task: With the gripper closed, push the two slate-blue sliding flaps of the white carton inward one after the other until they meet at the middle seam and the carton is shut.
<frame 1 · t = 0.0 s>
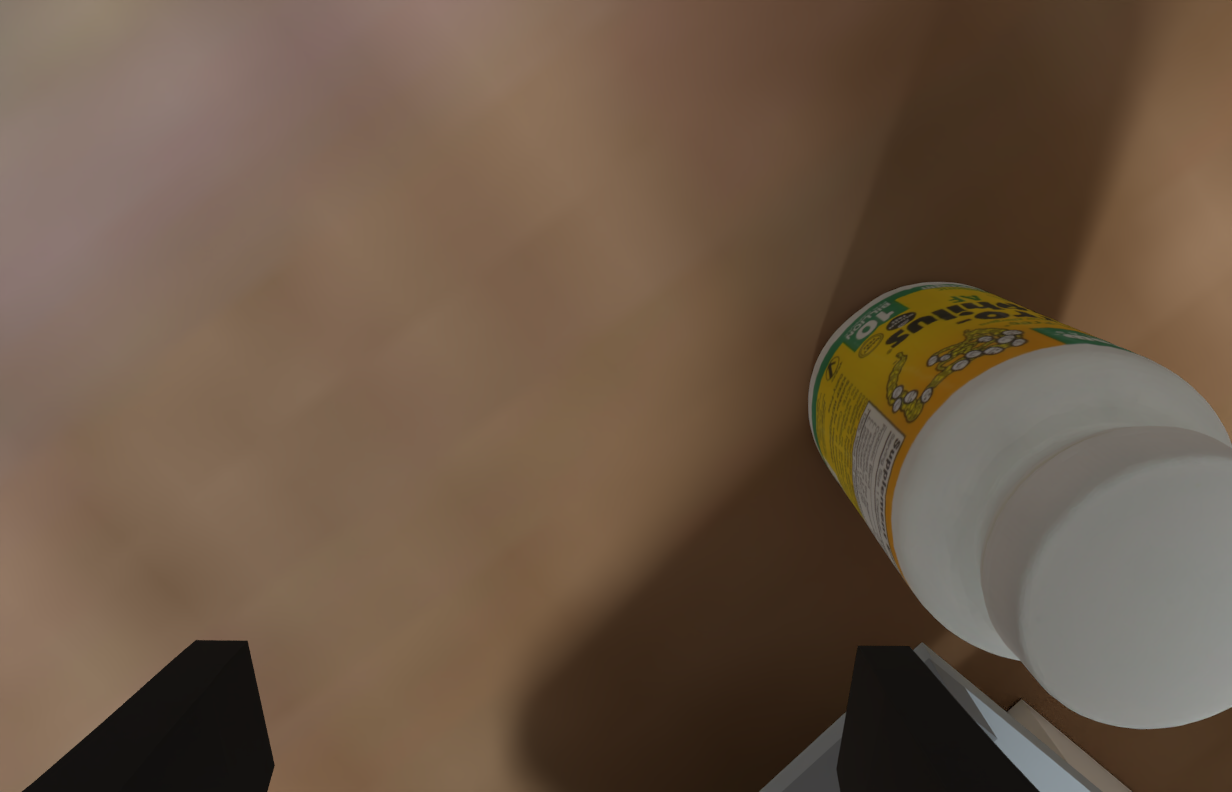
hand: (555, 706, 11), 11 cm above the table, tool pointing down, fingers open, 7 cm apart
supplement bottle: (917, 389, 21), on the table
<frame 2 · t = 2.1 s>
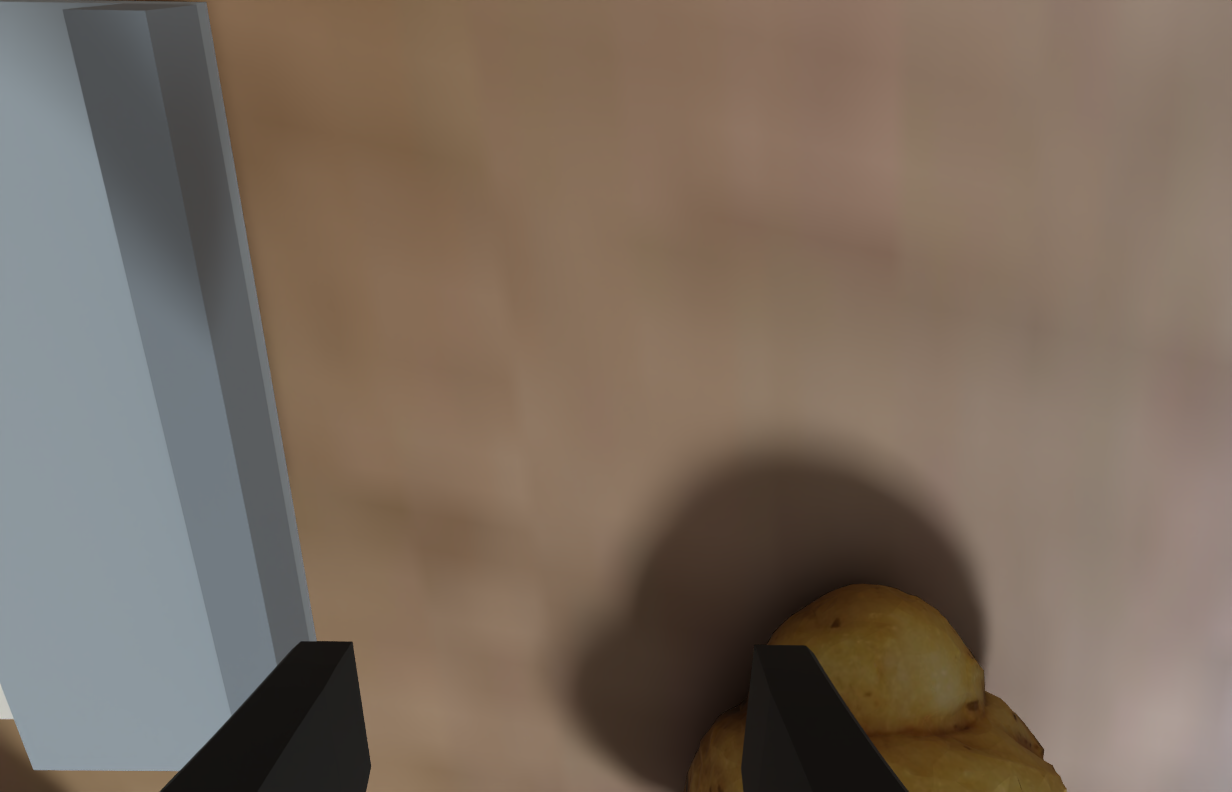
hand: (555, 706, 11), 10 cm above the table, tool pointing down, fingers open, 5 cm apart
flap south: (85, 479, 15), point 5 cm above the table, slide at 6.0 cm
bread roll: (840, 729, 26), on the table
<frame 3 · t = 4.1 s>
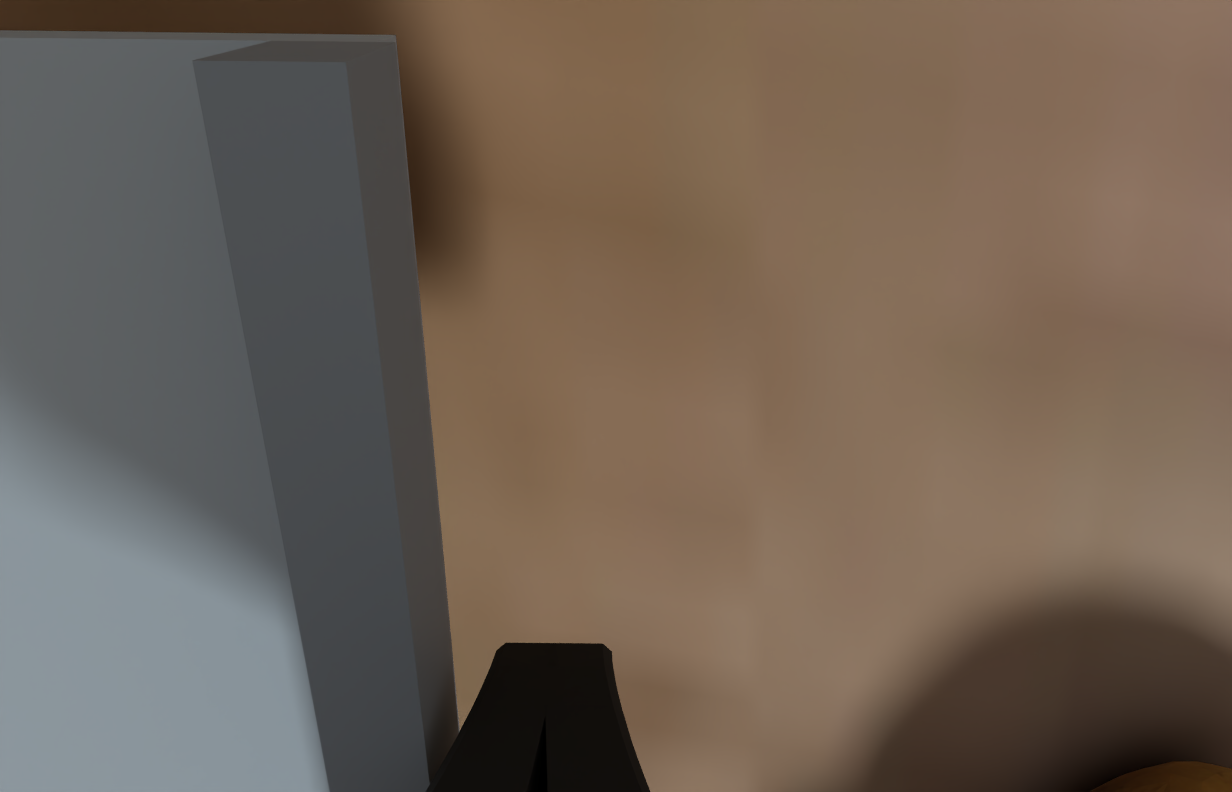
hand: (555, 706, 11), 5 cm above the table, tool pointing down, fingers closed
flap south: (175, 744, 10), point 5 cm above the table, slide at 5.3 cm, touching gripper
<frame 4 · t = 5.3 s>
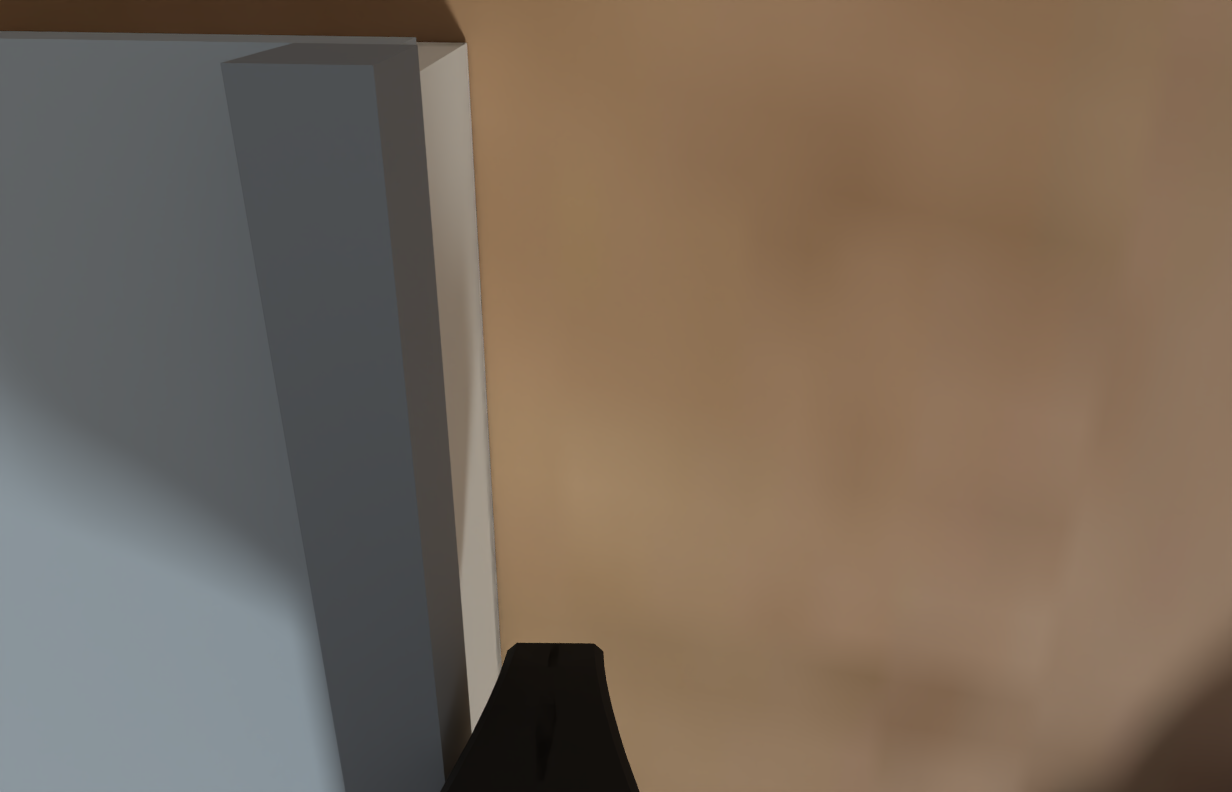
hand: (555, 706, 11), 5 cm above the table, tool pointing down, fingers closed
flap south: (189, 744, 10), point 5 cm above the table, slide at -0.1 cm, touching gripper
carton: (132, 486, 15), on the table
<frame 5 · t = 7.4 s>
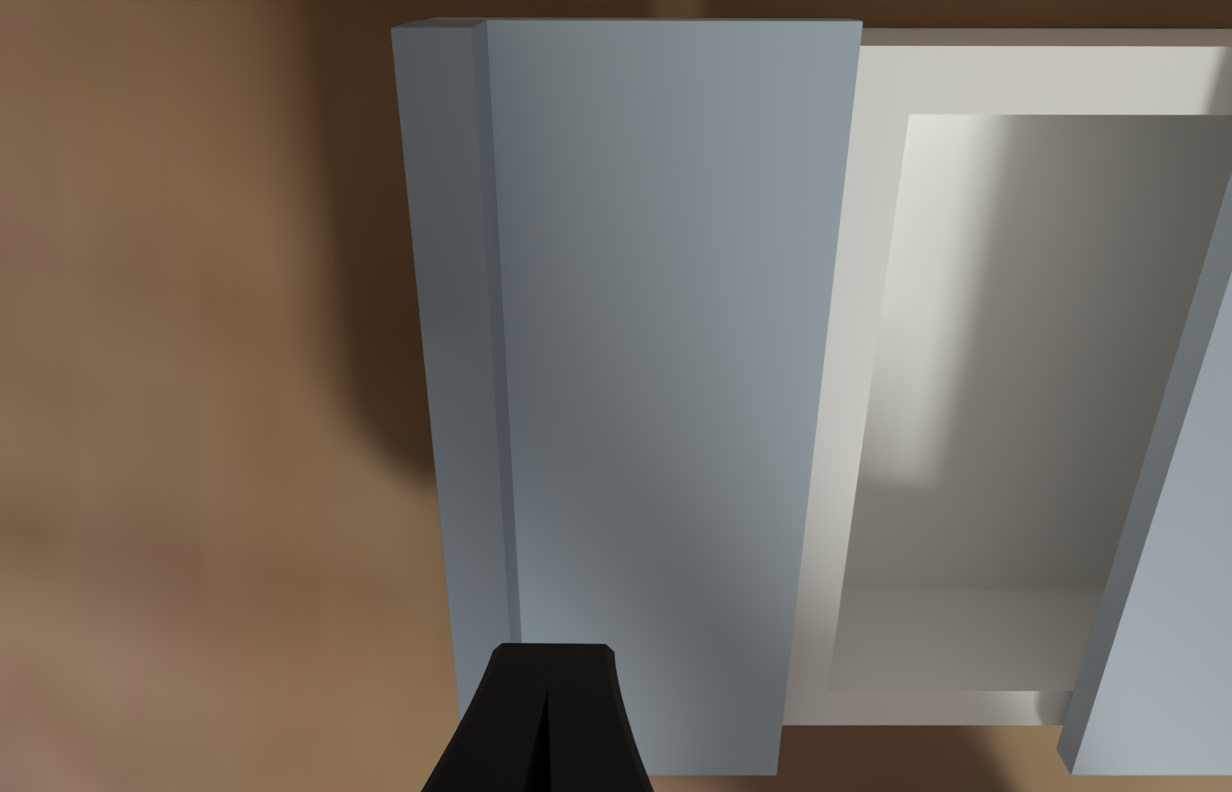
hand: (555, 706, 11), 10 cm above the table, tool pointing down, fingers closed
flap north: (633, 488, 15), point 5 cm above the table, slide at 6.0 cm
carton: (1037, 361, 20), on the table
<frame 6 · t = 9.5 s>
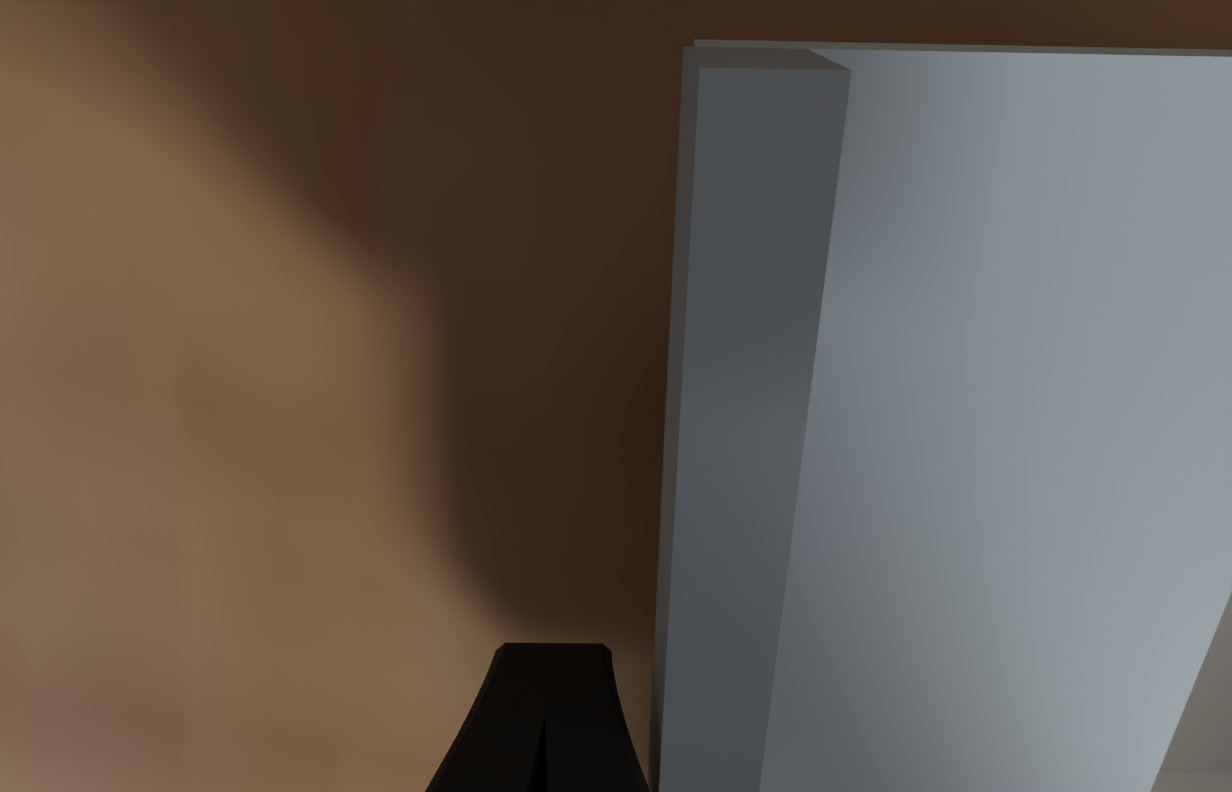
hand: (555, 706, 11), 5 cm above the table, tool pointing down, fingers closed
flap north: (925, 749, 10), point 5 cm above the table, slide at 5.0 cm, touching gripper
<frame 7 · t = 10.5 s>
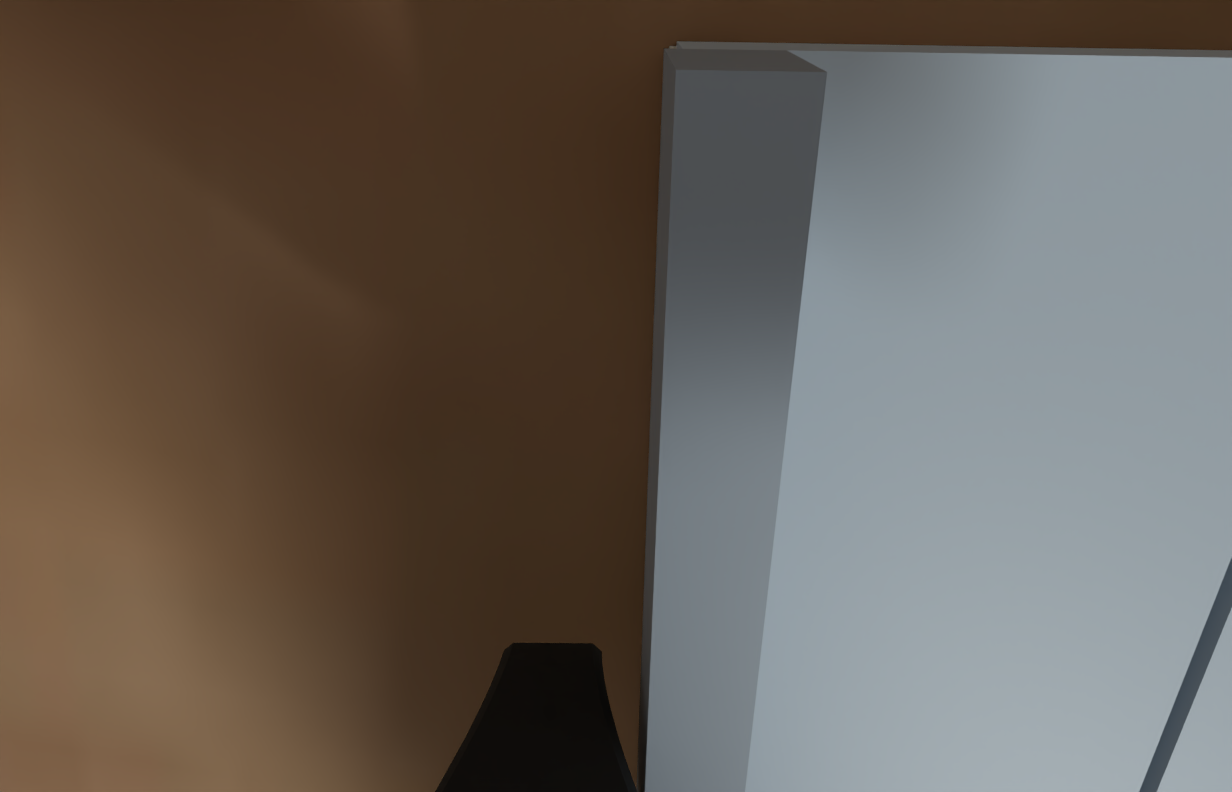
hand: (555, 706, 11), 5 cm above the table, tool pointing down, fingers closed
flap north: (913, 749, 10), point 5 cm above the table, slide at -0.1 cm, touching gripper
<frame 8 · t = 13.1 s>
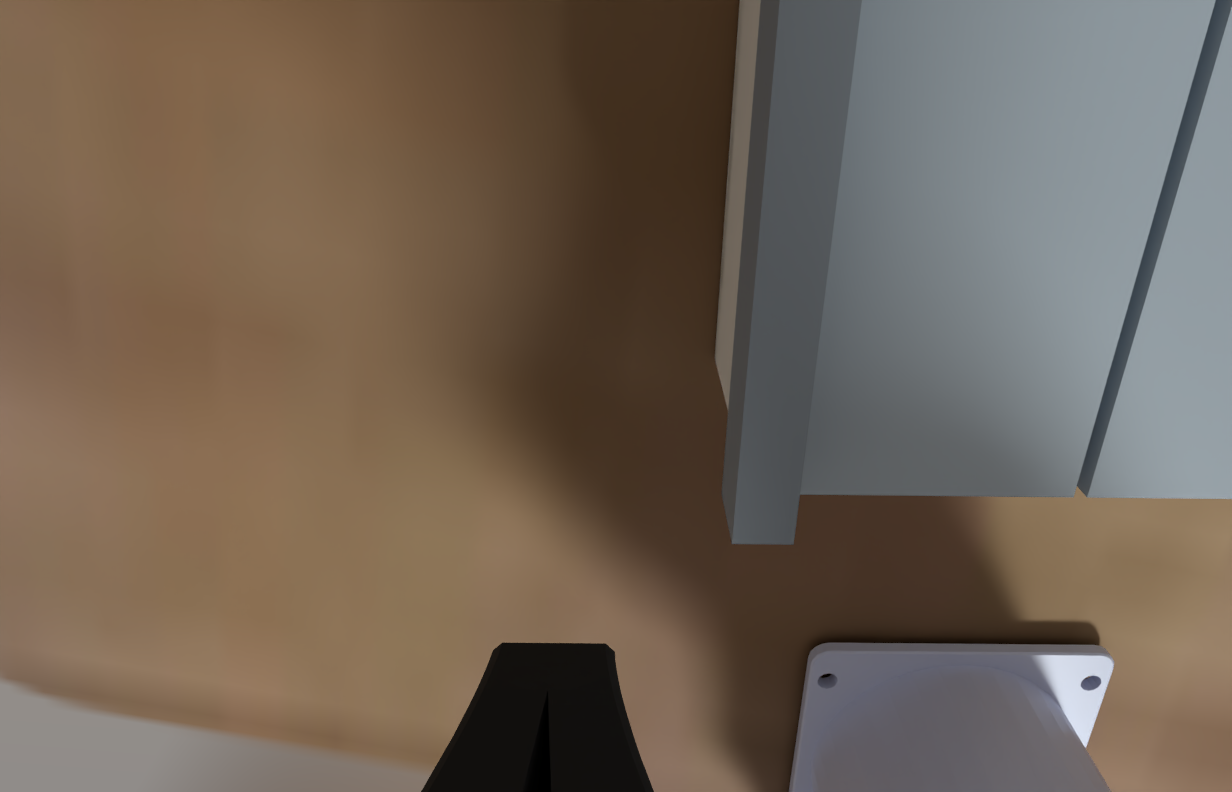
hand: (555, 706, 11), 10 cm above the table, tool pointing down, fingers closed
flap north: (990, 51, 12), point 5 cm above the table, slide at 0.0 cm
carton: (1051, 26, 17), on the table
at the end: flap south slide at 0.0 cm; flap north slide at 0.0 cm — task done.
